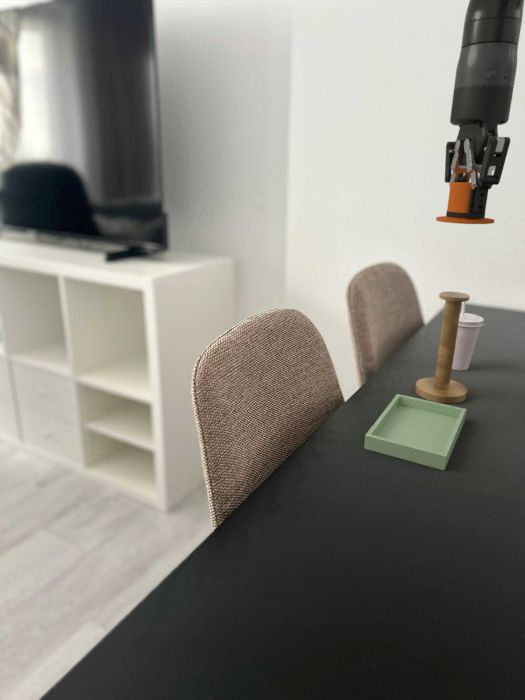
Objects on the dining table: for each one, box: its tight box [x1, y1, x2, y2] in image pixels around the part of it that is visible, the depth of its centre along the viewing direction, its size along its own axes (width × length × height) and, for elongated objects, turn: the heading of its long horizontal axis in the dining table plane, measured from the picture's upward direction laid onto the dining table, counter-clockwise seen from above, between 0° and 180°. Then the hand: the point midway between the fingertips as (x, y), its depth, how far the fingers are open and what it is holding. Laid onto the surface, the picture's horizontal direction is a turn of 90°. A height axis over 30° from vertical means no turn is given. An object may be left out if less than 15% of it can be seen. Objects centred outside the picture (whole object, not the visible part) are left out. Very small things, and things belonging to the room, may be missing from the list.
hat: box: [435, 181, 495, 225], centre depth 74 cm, size 8×8×5 cm
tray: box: [363, 393, 468, 471], centre depth 71 cm, size 15×10×2 cm
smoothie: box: [452, 292, 485, 372], centre depth 93 cm, size 6×6×14 cm
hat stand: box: [414, 291, 471, 405], centre depth 82 cm, size 8×8×17 cm
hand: (465, 215), depth 75 cm, fingers closed on hat, 5 cm apart
